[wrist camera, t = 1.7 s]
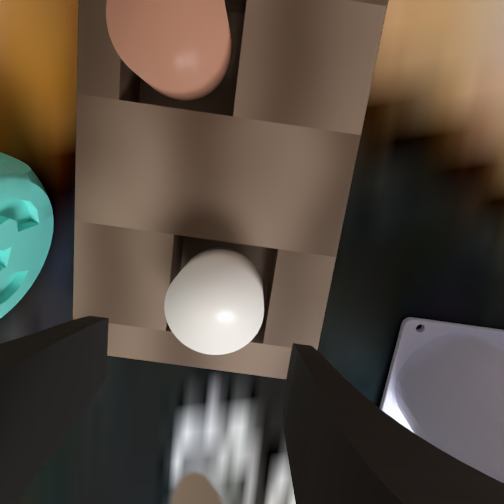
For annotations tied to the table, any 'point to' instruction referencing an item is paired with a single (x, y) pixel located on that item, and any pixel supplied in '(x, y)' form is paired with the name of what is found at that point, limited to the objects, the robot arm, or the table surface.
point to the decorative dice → (21, 230)
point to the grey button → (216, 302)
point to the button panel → (221, 174)
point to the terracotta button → (173, 43)
